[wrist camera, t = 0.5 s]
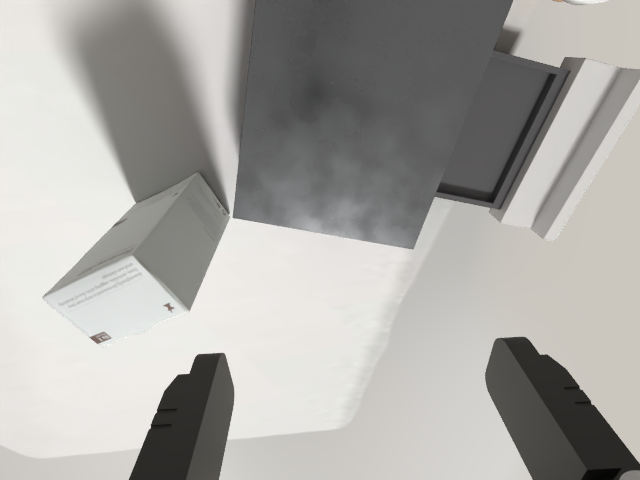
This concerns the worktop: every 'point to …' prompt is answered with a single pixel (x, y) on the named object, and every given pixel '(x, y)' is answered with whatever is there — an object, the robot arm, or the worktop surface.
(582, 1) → the white rounded flat dome
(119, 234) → the skincare box
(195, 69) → the worktop surface
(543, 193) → the tray
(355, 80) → the housing
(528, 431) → the robot arm
